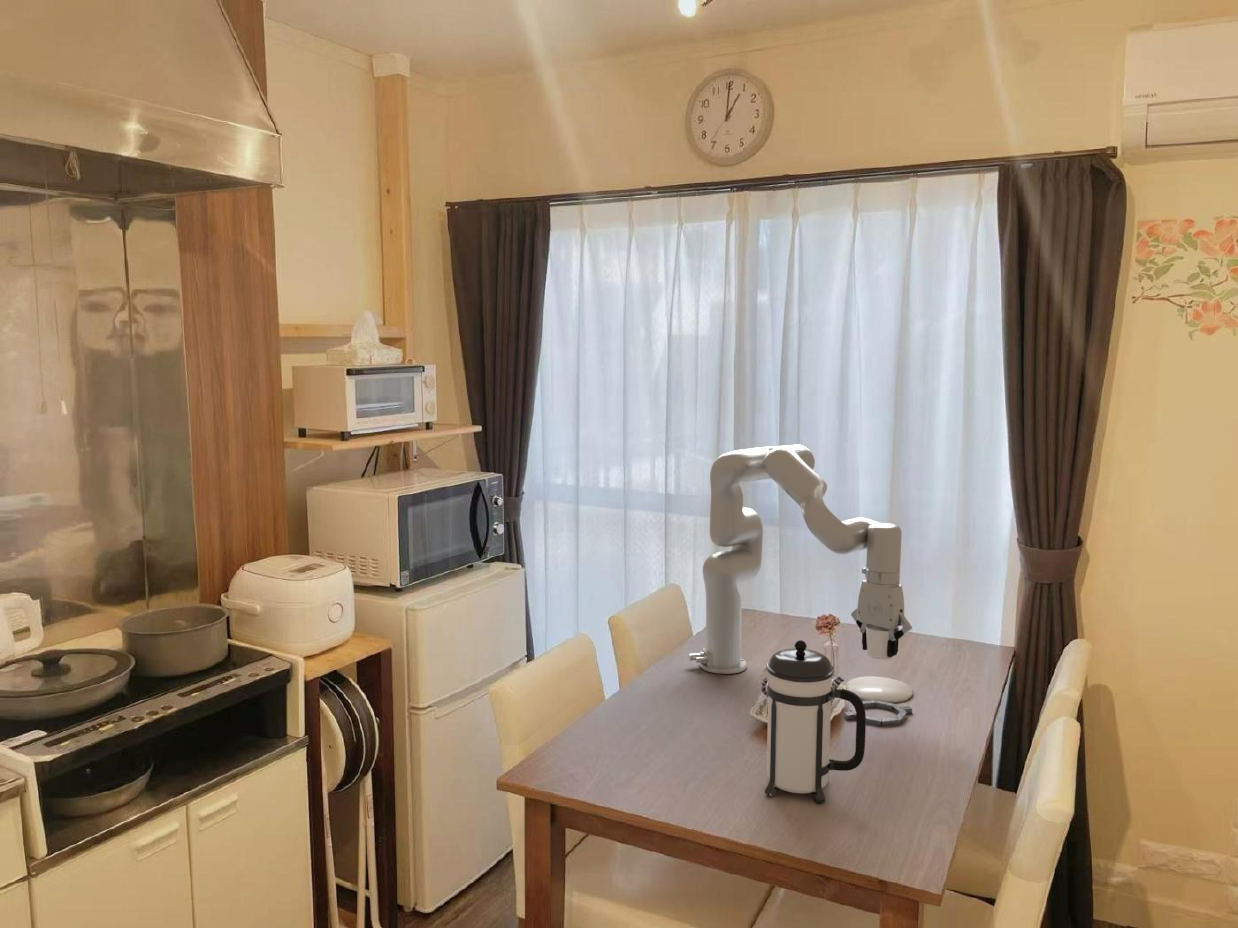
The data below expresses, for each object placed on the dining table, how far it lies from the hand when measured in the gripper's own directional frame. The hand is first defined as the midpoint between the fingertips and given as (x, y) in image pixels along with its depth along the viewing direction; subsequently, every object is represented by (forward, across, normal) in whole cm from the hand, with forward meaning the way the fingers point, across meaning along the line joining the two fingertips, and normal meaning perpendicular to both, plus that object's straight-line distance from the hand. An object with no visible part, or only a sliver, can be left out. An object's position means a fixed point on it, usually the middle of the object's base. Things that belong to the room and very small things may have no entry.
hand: (879, 651), depth 218 cm
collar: (+15, +1, -1) cm, 15 cm away
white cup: (+1, 0, 0) cm, 1 cm away
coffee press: (+15, +10, -43) cm, 47 cm away
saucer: (+15, -8, +13) cm, 22 cm away
